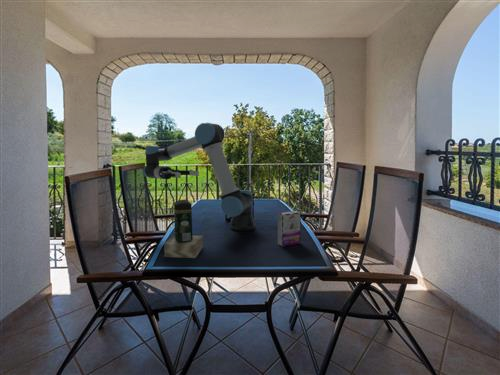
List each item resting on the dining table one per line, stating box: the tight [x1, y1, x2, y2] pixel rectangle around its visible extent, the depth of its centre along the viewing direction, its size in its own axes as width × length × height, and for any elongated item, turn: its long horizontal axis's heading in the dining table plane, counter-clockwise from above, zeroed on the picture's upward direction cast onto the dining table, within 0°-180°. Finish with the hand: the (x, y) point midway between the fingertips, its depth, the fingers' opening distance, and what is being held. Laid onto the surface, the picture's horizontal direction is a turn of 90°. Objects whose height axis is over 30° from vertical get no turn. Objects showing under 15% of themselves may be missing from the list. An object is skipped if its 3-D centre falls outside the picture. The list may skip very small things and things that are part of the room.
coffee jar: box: [173, 199, 193, 242], centre depth 141 cm, size 10×8×19 cm
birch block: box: [163, 234, 204, 259], centre depth 143 cm, size 14×14×6 cm
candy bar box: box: [277, 210, 302, 248], centre depth 155 cm, size 11×5×16 cm, turn 117°
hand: (189, 174), depth 168 cm, fingers open, 13 cm apart
